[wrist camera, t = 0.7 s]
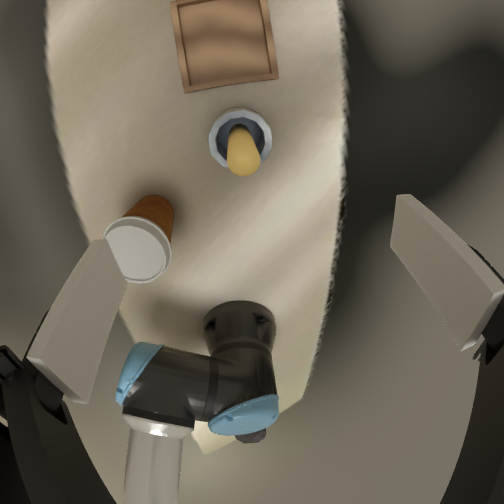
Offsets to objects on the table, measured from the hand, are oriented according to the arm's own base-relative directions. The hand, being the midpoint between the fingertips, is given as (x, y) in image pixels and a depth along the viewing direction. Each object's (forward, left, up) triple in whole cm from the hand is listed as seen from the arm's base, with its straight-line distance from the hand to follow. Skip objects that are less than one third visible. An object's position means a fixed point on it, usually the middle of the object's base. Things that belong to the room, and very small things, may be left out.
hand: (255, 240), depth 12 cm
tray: (+14, 0, -29) cm, 32 cm away
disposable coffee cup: (-10, +15, -29) cm, 34 cm away
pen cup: (0, 0, -29) cm, 29 cm away
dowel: (0, 0, -28) cm, 28 cm away
